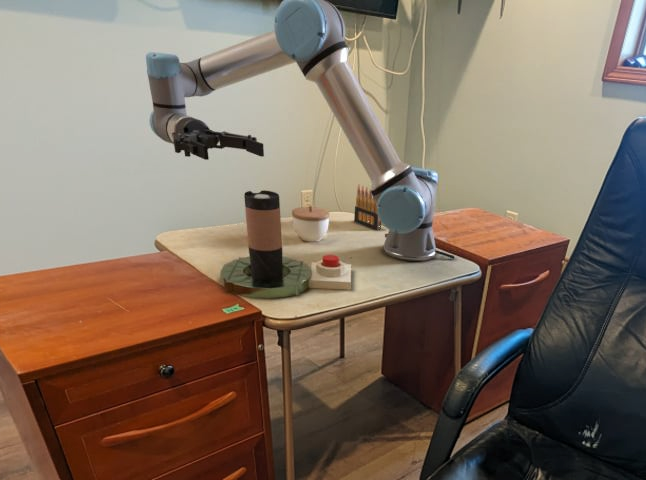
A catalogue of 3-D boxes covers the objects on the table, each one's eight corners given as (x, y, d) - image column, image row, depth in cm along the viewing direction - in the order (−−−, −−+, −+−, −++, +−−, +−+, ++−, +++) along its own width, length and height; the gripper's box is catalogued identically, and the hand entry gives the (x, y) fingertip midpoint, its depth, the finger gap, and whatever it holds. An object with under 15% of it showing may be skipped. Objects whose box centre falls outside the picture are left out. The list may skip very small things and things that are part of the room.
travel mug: (276, 288, 121) (270, 200, 110) (245, 283, 122) (237, 195, 111) (288, 277, 127) (285, 193, 116) (259, 272, 128) (253, 188, 117)
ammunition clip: (353, 221, 171) (355, 183, 164) (357, 221, 172) (359, 183, 165) (377, 230, 166) (379, 191, 159) (380, 229, 167) (383, 190, 160)
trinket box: (299, 245, 147) (298, 212, 142) (288, 234, 155) (286, 201, 149) (334, 243, 152) (335, 210, 146) (321, 231, 159) (321, 200, 154)
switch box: (350, 271, 134) (351, 256, 132) (350, 290, 125) (350, 274, 122) (312, 269, 133) (311, 254, 131) (308, 287, 123) (308, 271, 121)
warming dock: (314, 267, 134) (314, 258, 133) (308, 300, 118) (307, 290, 116) (231, 262, 132) (230, 253, 130) (213, 295, 115) (211, 285, 113)
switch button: (339, 263, 129) (339, 255, 128) (338, 269, 126) (338, 260, 124) (322, 262, 128) (322, 254, 127) (322, 268, 125) (322, 259, 124)
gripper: (238, 148, 136) (283, 166, 124) (141, 153, 120) (183, 173, 109) (235, 116, 131) (282, 131, 120) (134, 116, 116) (177, 133, 105)
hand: (235, 151), depth 115 cm, fingers open, 13 cm apart
